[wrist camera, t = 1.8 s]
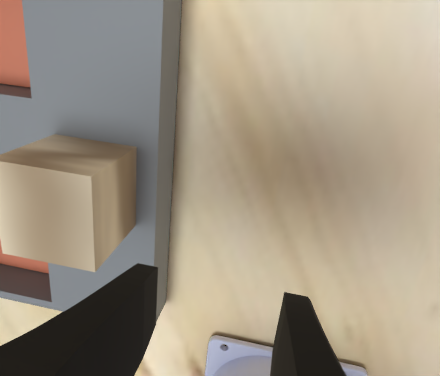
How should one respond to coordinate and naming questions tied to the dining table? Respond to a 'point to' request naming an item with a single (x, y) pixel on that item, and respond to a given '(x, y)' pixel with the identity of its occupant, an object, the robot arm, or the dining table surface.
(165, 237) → the trap board
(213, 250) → the dining table surface
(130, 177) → the beech block
